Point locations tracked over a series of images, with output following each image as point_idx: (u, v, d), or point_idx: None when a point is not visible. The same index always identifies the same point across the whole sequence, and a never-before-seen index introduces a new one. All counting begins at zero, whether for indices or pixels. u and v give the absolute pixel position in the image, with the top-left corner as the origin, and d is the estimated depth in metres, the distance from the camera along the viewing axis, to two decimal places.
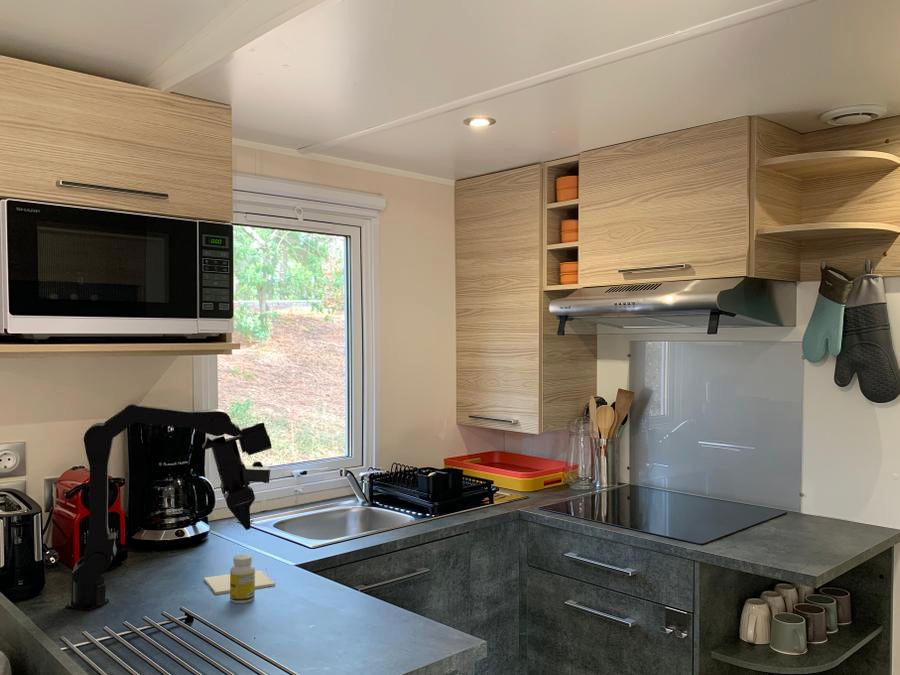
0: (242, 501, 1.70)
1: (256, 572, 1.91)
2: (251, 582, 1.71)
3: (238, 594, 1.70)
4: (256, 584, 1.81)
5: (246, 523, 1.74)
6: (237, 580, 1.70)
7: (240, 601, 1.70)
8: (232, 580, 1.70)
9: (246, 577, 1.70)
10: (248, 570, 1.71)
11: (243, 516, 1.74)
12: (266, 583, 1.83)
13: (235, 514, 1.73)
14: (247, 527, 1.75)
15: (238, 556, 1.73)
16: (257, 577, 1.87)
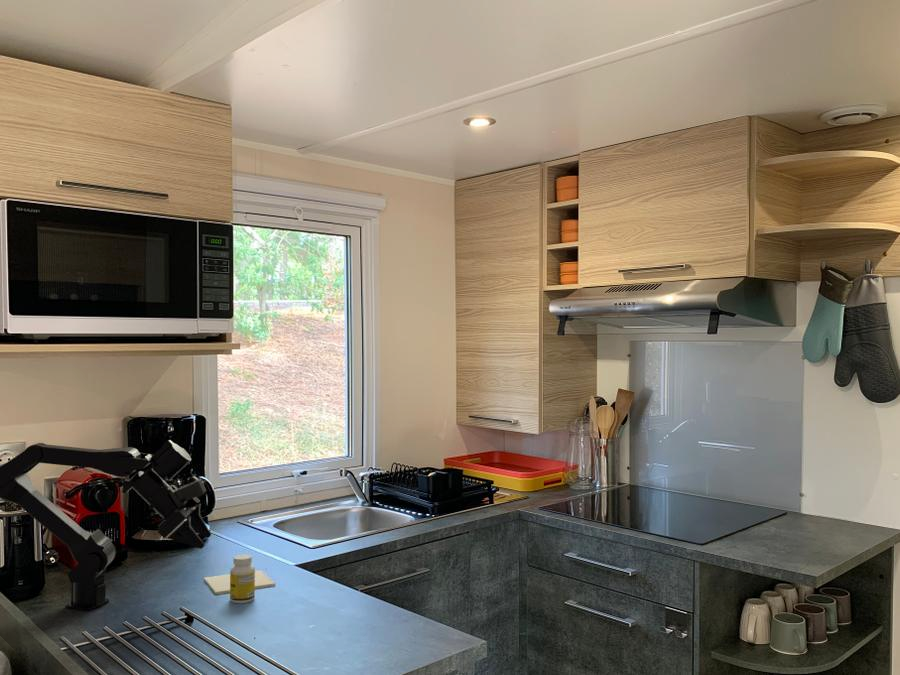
0: (174, 526, 1.61)
1: (256, 572, 1.91)
2: (251, 582, 1.71)
3: (238, 594, 1.70)
4: (256, 584, 1.81)
5: (197, 542, 1.66)
6: (237, 580, 1.70)
7: (240, 601, 1.70)
8: (232, 580, 1.70)
9: (246, 577, 1.70)
10: (248, 570, 1.71)
11: (189, 538, 1.65)
12: (266, 583, 1.83)
13: (179, 540, 1.64)
14: (200, 546, 1.66)
15: (238, 556, 1.73)
16: (257, 577, 1.87)
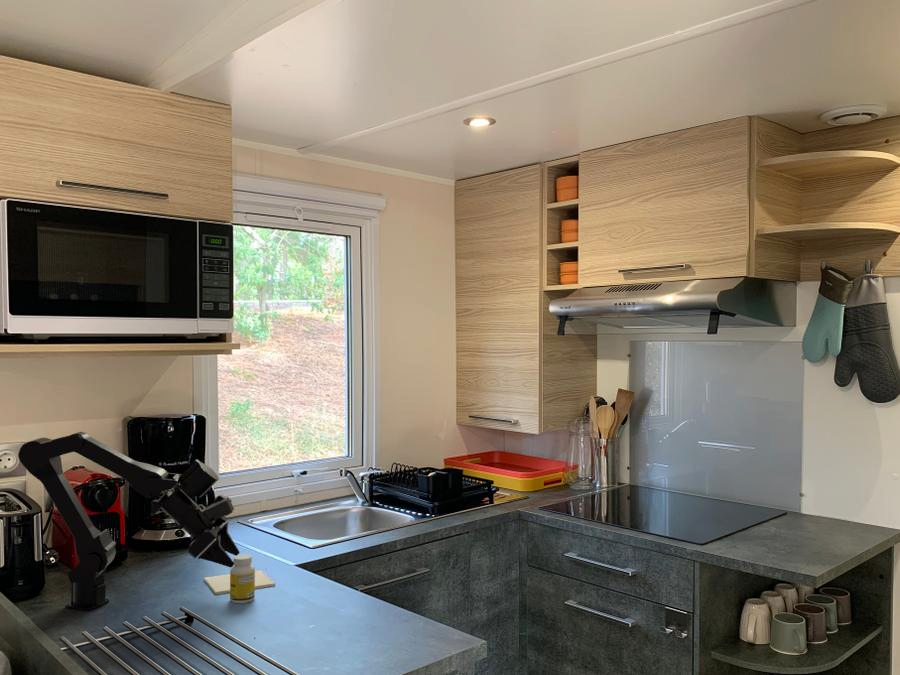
0: (204, 546, 1.62)
1: (256, 572, 1.91)
2: (251, 582, 1.71)
3: (238, 594, 1.70)
4: (256, 584, 1.81)
5: (227, 561, 1.67)
6: (237, 580, 1.70)
7: (240, 601, 1.70)
8: (232, 580, 1.70)
9: (246, 577, 1.70)
10: (248, 570, 1.71)
11: (219, 557, 1.66)
12: (266, 583, 1.83)
13: (210, 559, 1.65)
14: (230, 564, 1.67)
15: (238, 556, 1.73)
16: (257, 577, 1.87)
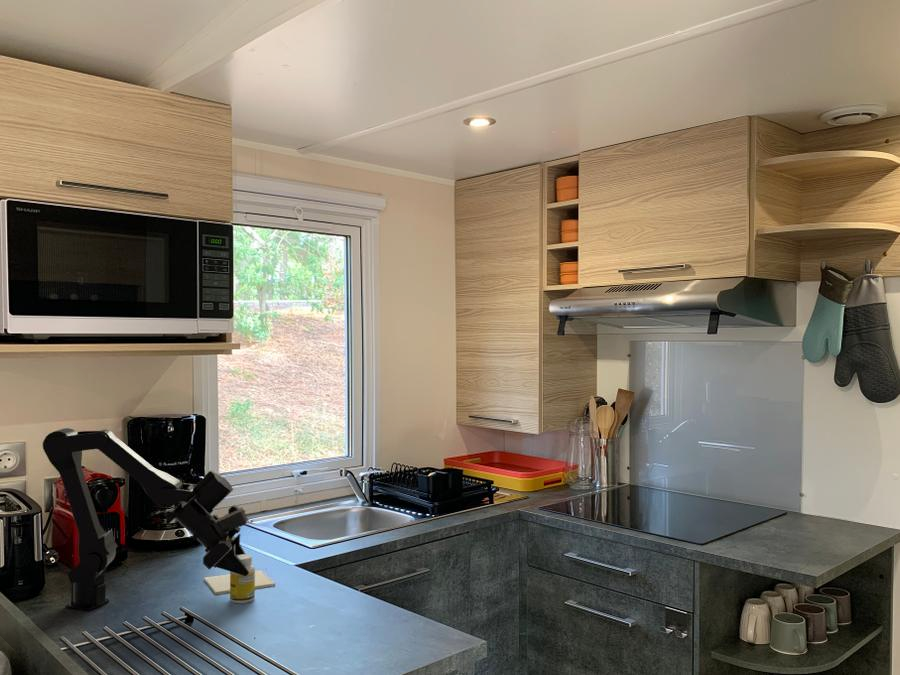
0: (219, 558, 1.63)
1: (256, 572, 1.91)
2: (251, 582, 1.71)
3: (238, 594, 1.70)
4: (256, 584, 1.81)
5: (242, 570, 1.69)
6: (237, 580, 1.70)
7: (240, 601, 1.70)
8: (232, 580, 1.70)
9: (246, 577, 1.70)
10: (248, 570, 1.71)
11: (234, 566, 1.68)
12: (266, 583, 1.83)
13: (225, 568, 1.67)
14: (245, 573, 1.69)
15: (238, 556, 1.73)
16: (257, 577, 1.87)
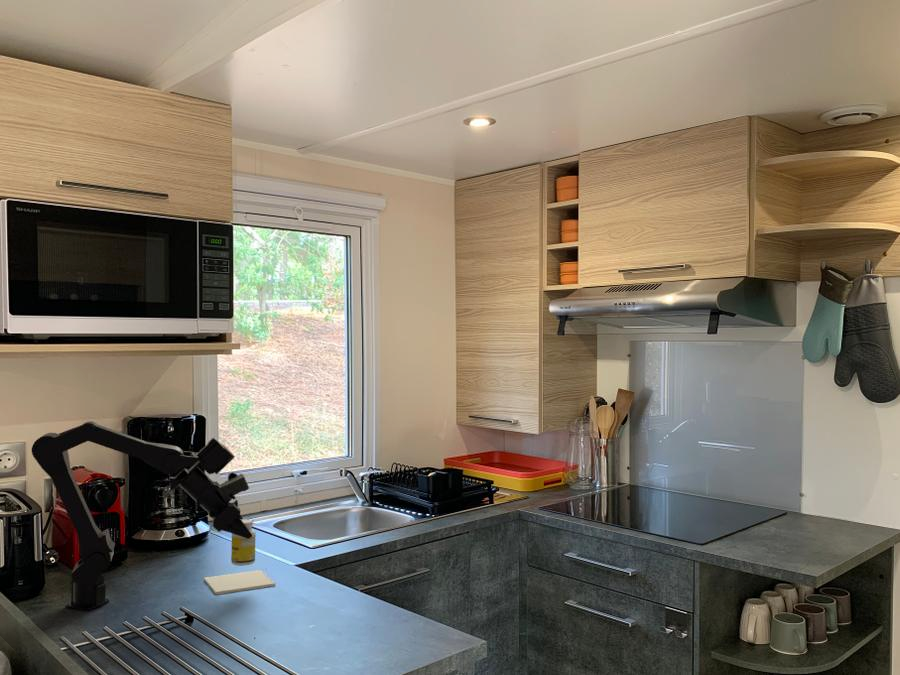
0: (229, 520, 1.68)
1: (256, 572, 1.91)
2: (253, 545, 1.78)
3: (241, 557, 1.76)
4: (256, 584, 1.81)
5: (246, 533, 1.75)
6: (241, 543, 1.76)
7: (243, 563, 1.76)
8: (234, 544, 1.76)
9: (249, 540, 1.76)
10: (251, 533, 1.77)
11: (239, 529, 1.74)
12: (266, 583, 1.83)
13: (230, 531, 1.73)
14: (248, 536, 1.76)
15: None
16: (257, 577, 1.87)
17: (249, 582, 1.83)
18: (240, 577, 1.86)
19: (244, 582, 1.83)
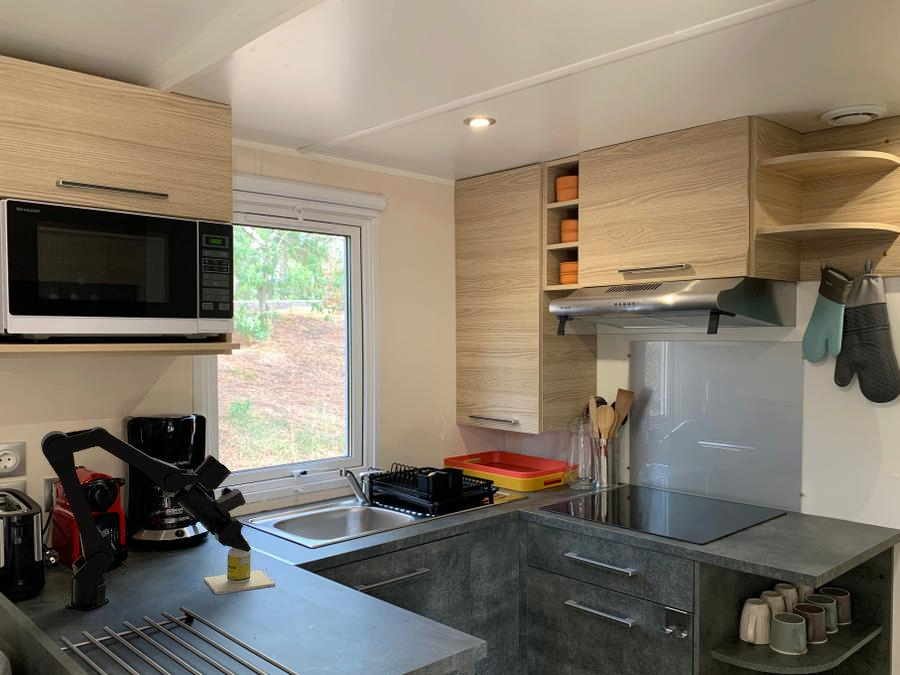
0: (234, 534, 1.74)
1: (256, 572, 1.91)
2: (249, 562, 1.84)
3: (239, 575, 1.82)
4: (256, 584, 1.81)
5: (245, 546, 1.81)
6: (238, 562, 1.81)
7: (241, 581, 1.82)
8: (232, 563, 1.82)
9: (246, 558, 1.82)
10: None
11: (239, 543, 1.79)
12: (266, 583, 1.83)
13: (232, 545, 1.78)
14: (248, 549, 1.81)
15: None
16: (257, 577, 1.87)
17: (249, 582, 1.83)
18: None
19: (244, 582, 1.83)
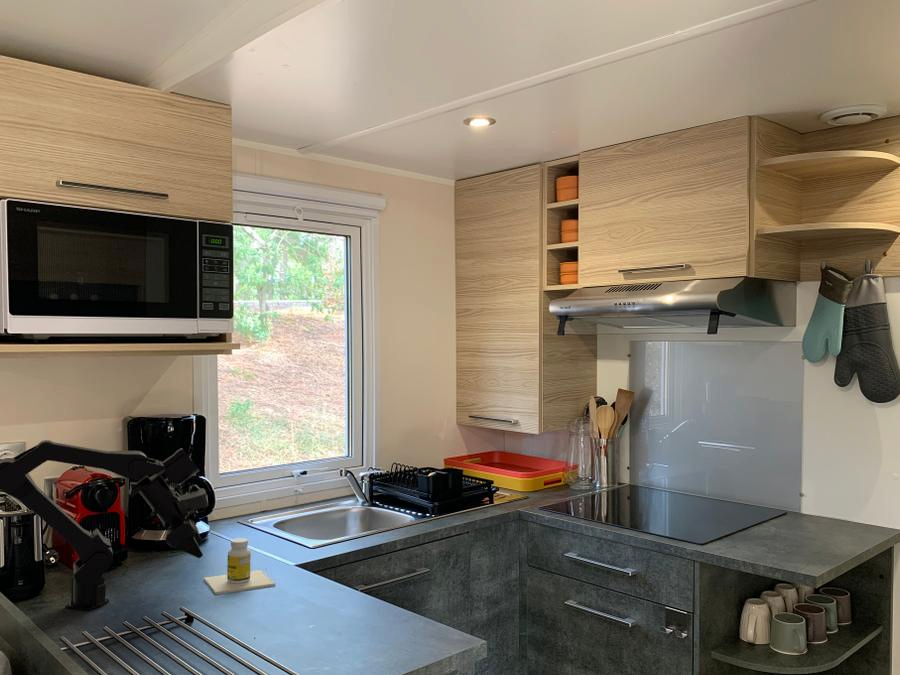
0: (182, 537, 1.68)
1: (256, 572, 1.91)
2: (249, 562, 1.84)
3: (239, 575, 1.82)
4: (256, 584, 1.81)
5: (197, 552, 1.73)
6: (239, 562, 1.81)
7: (241, 581, 1.82)
8: (232, 563, 1.82)
9: (246, 558, 1.83)
10: (247, 551, 1.83)
11: (191, 547, 1.72)
12: (266, 583, 1.83)
13: (182, 549, 1.71)
14: (199, 555, 1.74)
15: (235, 540, 1.84)
16: (257, 577, 1.87)
17: (249, 582, 1.83)
18: None
19: (244, 582, 1.83)
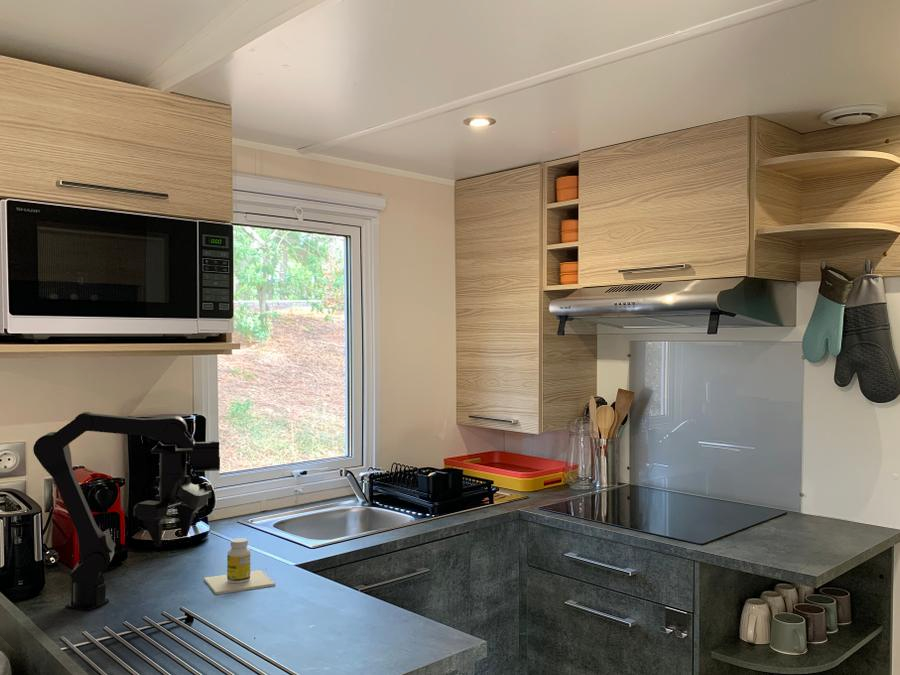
0: (144, 515, 1.64)
1: (256, 572, 1.91)
2: (249, 562, 1.84)
3: (239, 574, 1.82)
4: (256, 584, 1.81)
5: (156, 539, 1.68)
6: (238, 562, 1.82)
7: (241, 581, 1.82)
8: (232, 563, 1.82)
9: (246, 558, 1.83)
10: (247, 551, 1.83)
11: (153, 531, 1.67)
12: (266, 583, 1.83)
13: (146, 525, 1.67)
14: (156, 543, 1.68)
15: (234, 540, 1.84)
16: (257, 577, 1.87)
17: (249, 582, 1.83)
18: None
19: (244, 582, 1.83)
